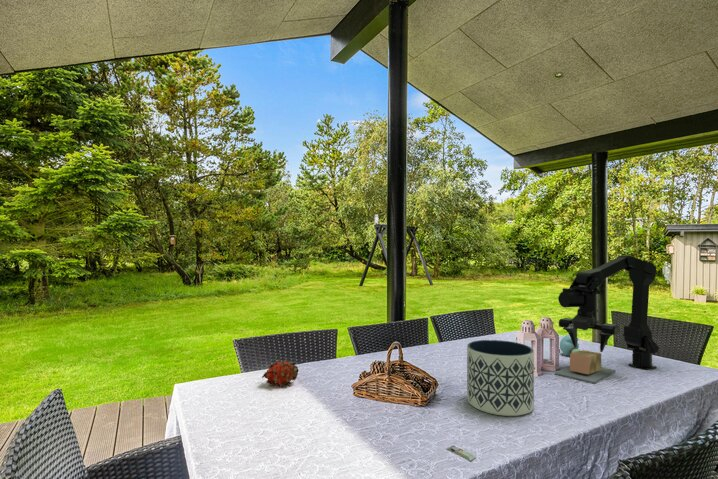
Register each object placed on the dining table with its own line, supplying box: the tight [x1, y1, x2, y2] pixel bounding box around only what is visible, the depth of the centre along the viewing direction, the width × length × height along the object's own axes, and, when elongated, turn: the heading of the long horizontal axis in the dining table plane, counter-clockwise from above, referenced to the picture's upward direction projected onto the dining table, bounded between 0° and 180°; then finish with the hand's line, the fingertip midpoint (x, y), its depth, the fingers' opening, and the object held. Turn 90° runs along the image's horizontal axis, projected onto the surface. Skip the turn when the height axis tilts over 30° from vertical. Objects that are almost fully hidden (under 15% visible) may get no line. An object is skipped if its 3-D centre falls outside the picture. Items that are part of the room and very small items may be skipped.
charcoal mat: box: [554, 365, 616, 385], centre depth 144 cm, size 20×13×1 cm, turn 130°
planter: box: [466, 339, 535, 417], centre depth 116 cm, size 18×18×16 cm
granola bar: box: [446, 445, 477, 461], centre depth 88 cm, size 7×2×1 cm, turn 38°
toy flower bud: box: [559, 334, 581, 357], centre depth 165 cm, size 7×9×12 cm
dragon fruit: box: [261, 359, 300, 388], centre depth 132 cm, size 8×8×12 cm
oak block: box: [569, 349, 602, 374], centre depth 144 cm, size 6×6×12 cm
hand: (588, 349), depth 146 cm, fingers open, 8 cm apart
